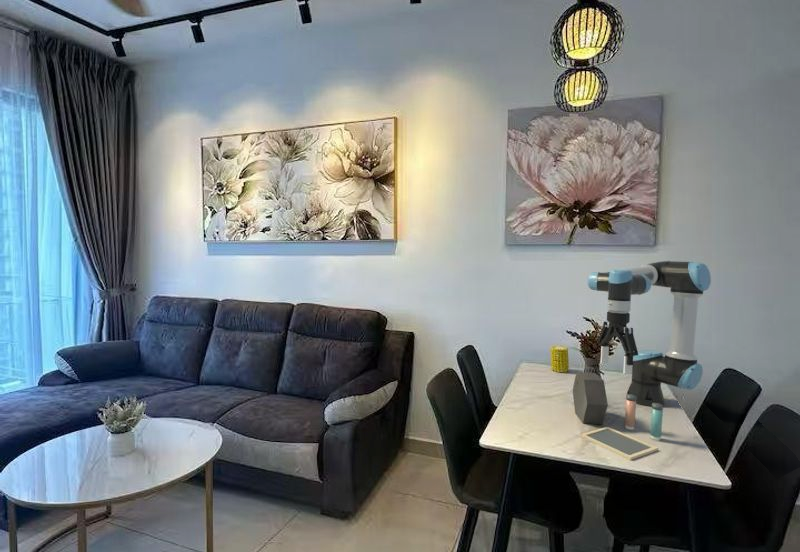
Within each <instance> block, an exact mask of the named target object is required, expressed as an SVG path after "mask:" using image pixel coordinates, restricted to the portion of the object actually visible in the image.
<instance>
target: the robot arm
mask: <svg viewBox="0 0 800 552" xmlns="http://www.w3.org/2000/svg"><path fill="white" fill-rule="evenodd" d="M711 280H712V278H711V271H710V270H709V268H708V266H707V265H706V264H705V263H703V262H698V261H697V262H696V261H675V260H674V261H670V260H664V261H657V262H651V263H647V264H645V263H644V264H641V265H640V266H638V267H634V268H625V269H611V270H610V271H607V272H600V271H598V272H591V273H590V274H589V275H588V278H587V287H588V289H590V290H592V291H596V292H607V310H608V311H607V312H606V321H603V324H602V328H601V330H600V333H599V336H598V338H597V341H596V342H597V343H598V344H599V345H600V364H609V355H610V353H609V351H610V347H609V346H610V345H609V344H610V342H611V341H612V340H613V338H614V337H616V338H617V340H619V341H620V343H621V346H622V348H623V351H624V353H625V354H624V357H623V370H622V371H623V372H622V373H623V374H624V375H631V381H630V385H629V387H628V390H627V391H626V395H627V394H631V395H635V396H637V399H636V405H637V404H638V405H642V406H647V407H652V403H660V404H662V405H663V406H664V405H665V396H664V393H663V389H662V387H661V386H662V385H661V384H665V385H669V386H671V387H675V388H679V389H683V390H687V391H689V390H693V389H695V388H697V386H698V385H699V383H701V380H702V377H703V366H702V365H701V364H700V363H698V358H697V356H695V354H694V351H695V350H694V349H695V340H696V339H695V338H696V330H697V329H696V327H697V319H698V318H697V315H698V306H699V298H700V297H702V296H703V295H704V291H707V290H709V289H710V285H711ZM652 286H655V287H661V288H668V289H669V288H670V293H671V295H673V307H672V308H673V309H672V316H671V317H672V318H671V320H672V321H671V329H670V330H671V331H670V340H669V341H670V342H669V343H670V344H669V350H668V351H667V352H665V354H664V353H663V352H662V351H660V350H659V351H658V350H638V348H637V344H636V343H637V342H636V340H635V336H634V328H633V327H627V324H629V323H630V319H631V317H630V316H631V313H630V312H631V305H632V304H631V303H632V302H631V301H632V300H631V298H632V296H633V295H634V296H635V295H637V296H640V295H644V294H646V293H648V292H649V291H650V290H651V288H652Z"/></svg>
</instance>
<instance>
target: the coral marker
mask: <svg viewBox="0 0 800 552" xmlns="http://www.w3.org/2000/svg"><path fill="white" fill-rule="evenodd" d="M636 399H637V396H635V395H631V394H627V393H626V394H625V400H626V401H625V415H624V425H625V426H624V428H625V429H626V430H628V431H634V430H635V426H636V411H637V403H636Z"/></svg>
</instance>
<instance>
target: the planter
mask: <svg viewBox="0 0 800 552" xmlns="http://www.w3.org/2000/svg"><path fill="white" fill-rule="evenodd" d="M572 386H573V388H572V399H573V406H574V414H575V415H576V416H577V419H579V420H580V422H581V423H582V424H593V425H594V424H595V425H604V421H605V417H606V414H607V409H608V398H607V392H606V386H605V380H604V379H603V378H601V376H599V375H598V374H597V373H595V372H581V371H580V372H579V371H576V373H575V376H574V382H573V385H572Z"/></svg>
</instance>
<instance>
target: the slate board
mask: <svg viewBox="0 0 800 552" xmlns="http://www.w3.org/2000/svg"><path fill="white" fill-rule="evenodd" d="M579 437H580V438H582V439H584V440H586V441H589V442H590V443H592V444H595V445H597V446H599V447H601V448H604V449H605V450H608V451H610V452H612V453H614V454H615V455H618V456H619V457H622V458H625V459H627V460H629V461H632V460H635V459H639V458H641V457H643V456H646V455H649V454H652V453H654V452H657V451H659V448H658V447H656V446H654V445H652V444H649V443H647V442H644V441H642V440H640V439H637V438H635V437H633V436H630V435H628V434H626V433H623V432H621V431H618V430H617V429H614V428H612V427H609V426H605V427H601V428H598V429H594V430H592V431H588V432H583V433H581V434H580V436H579Z"/></svg>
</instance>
